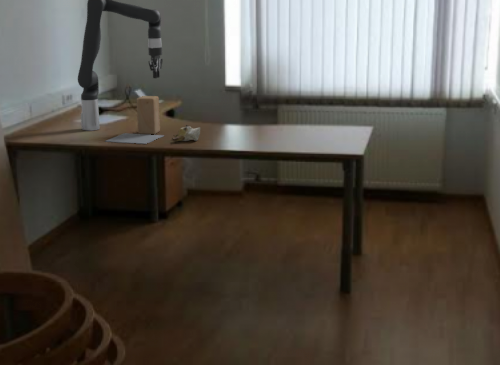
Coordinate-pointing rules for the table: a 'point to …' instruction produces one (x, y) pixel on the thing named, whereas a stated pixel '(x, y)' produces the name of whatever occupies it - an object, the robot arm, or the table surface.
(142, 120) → the wooden block
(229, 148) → the table surface
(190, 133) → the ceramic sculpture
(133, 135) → the mat
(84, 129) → the robot arm
